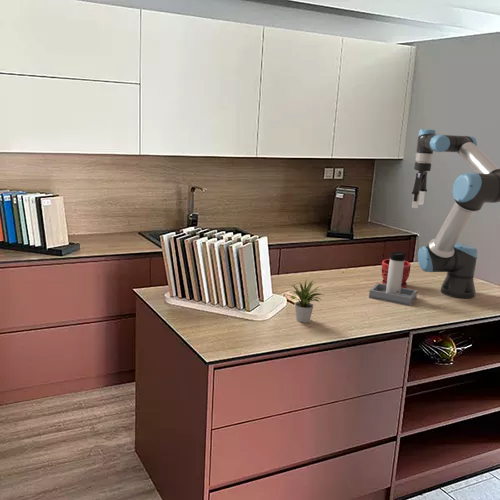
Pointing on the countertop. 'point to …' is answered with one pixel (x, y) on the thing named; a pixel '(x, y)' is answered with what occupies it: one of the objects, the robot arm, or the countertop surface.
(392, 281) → the travel mug
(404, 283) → the plant pot
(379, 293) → the tray
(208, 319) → the countertop surface
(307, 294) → the house plant
